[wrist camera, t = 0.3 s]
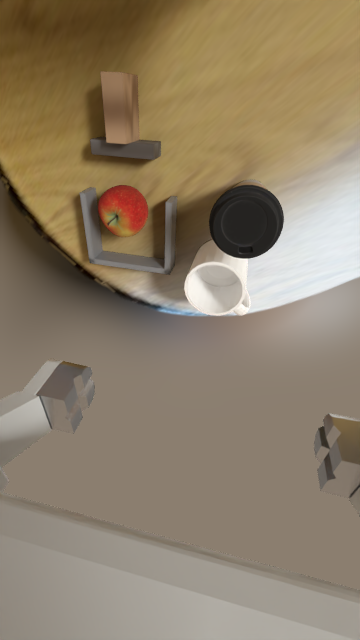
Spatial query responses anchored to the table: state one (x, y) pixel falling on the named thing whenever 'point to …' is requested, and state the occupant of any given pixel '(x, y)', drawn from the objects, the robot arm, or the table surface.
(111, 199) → the apple
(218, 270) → the mug
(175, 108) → the table surface
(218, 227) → the coffee cup
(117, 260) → the tray
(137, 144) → the tan grey t-shaped block
